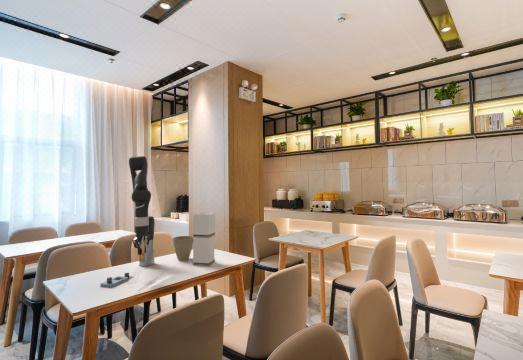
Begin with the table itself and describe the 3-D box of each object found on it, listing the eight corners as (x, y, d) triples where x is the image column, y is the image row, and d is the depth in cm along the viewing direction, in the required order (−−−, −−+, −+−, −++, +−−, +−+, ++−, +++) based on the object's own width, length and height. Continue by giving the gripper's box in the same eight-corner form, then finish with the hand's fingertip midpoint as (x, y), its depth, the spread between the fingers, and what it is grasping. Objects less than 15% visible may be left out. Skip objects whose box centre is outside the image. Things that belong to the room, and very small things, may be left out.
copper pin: (141, 260, 170) (141, 239, 170) (145, 260, 169) (145, 240, 169) (138, 261, 167) (137, 240, 167) (142, 261, 166) (142, 241, 166)
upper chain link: (111, 290, 152) (111, 280, 152) (100, 289, 154) (100, 278, 154) (128, 282, 164) (128, 272, 164) (117, 281, 166) (118, 271, 166)
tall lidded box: (214, 262, 205) (214, 212, 205) (208, 266, 194) (208, 214, 195) (200, 261, 208) (200, 212, 208) (193, 265, 197) (193, 214, 197)
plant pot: (168, 261, 207) (168, 239, 207) (180, 256, 221) (180, 235, 222) (186, 263, 203) (186, 240, 203) (197, 257, 217) (197, 236, 217)
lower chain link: (124, 278, 171) (124, 271, 171) (134, 279, 169) (134, 272, 169) (108, 285, 159) (108, 278, 159) (118, 286, 157) (118, 279, 157)
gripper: (144, 222, 176) (144, 250, 176) (127, 226, 162) (127, 256, 162) (154, 222, 174) (154, 251, 174) (139, 226, 160) (139, 257, 160)
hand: (141, 253), depth 168 cm, fingers closed on copper pin, 3 cm apart
